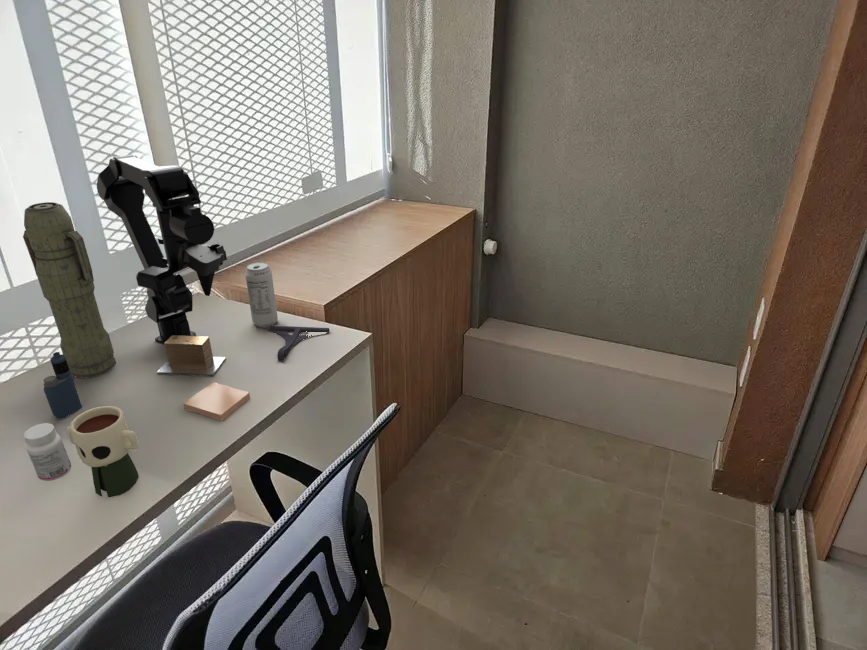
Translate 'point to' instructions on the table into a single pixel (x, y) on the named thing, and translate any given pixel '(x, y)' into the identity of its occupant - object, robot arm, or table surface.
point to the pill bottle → (47, 452)
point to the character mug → (105, 448)
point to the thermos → (68, 288)
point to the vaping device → (61, 388)
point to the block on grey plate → (190, 357)
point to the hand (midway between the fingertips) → (191, 303)
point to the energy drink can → (261, 294)
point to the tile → (216, 401)
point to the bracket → (292, 337)
